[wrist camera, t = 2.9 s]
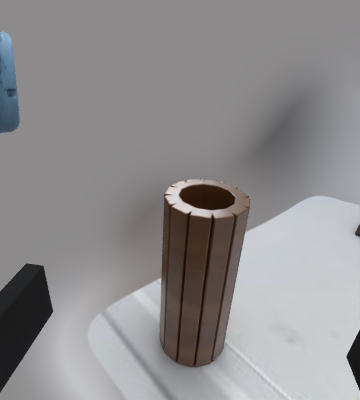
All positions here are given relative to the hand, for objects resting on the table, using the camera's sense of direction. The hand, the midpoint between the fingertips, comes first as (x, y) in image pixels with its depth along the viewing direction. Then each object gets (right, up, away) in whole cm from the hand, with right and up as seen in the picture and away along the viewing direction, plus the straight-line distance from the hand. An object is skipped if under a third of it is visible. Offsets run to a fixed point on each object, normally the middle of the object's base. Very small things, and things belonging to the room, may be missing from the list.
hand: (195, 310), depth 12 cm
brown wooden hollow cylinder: (0, -7, +14) cm, 16 cm away
